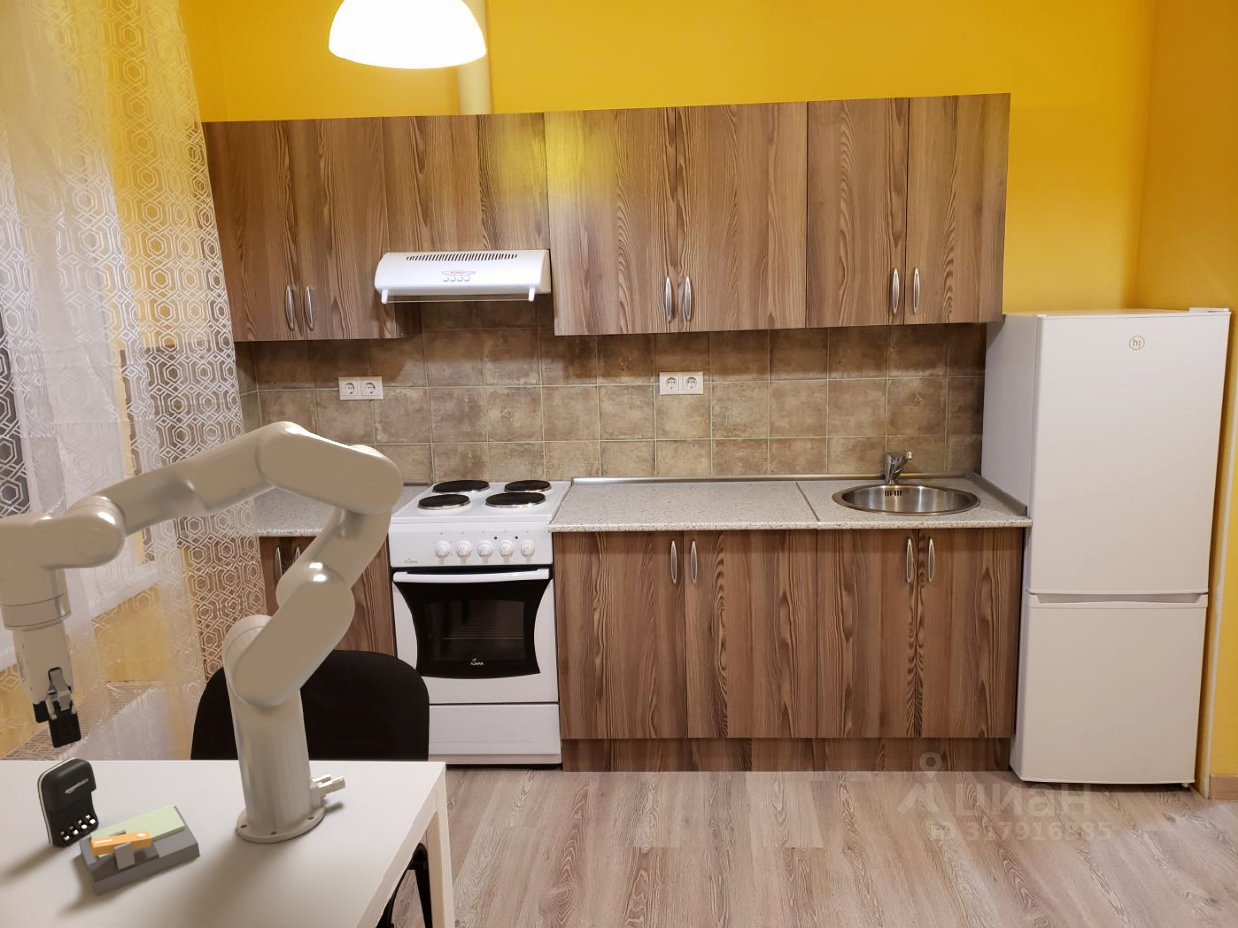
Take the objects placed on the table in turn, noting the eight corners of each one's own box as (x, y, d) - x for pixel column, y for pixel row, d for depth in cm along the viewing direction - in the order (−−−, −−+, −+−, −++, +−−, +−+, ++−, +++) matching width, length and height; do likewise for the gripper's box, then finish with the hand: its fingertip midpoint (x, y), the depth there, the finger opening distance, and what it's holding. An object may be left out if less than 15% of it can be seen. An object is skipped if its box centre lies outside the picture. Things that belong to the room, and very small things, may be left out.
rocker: (146, 838, 130) (147, 830, 130) (150, 846, 128) (151, 837, 128) (89, 847, 126) (90, 838, 126) (92, 856, 124) (93, 847, 124)
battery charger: (65, 852, 134) (51, 780, 132) (47, 847, 136) (32, 775, 133) (107, 825, 140) (95, 755, 138) (90, 820, 142) (77, 751, 140)
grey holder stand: (177, 817, 141) (172, 784, 140) (199, 855, 132) (194, 819, 131) (81, 853, 134) (74, 818, 133) (97, 895, 124) (89, 858, 123)
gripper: (-11, 601, 124) (12, 720, 128) (16, 634, 111) (40, 765, 115) (53, 587, 129) (73, 701, 132) (86, 617, 116) (107, 742, 120)
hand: (58, 731), depth 124 cm, fingers open, 9 cm apart
